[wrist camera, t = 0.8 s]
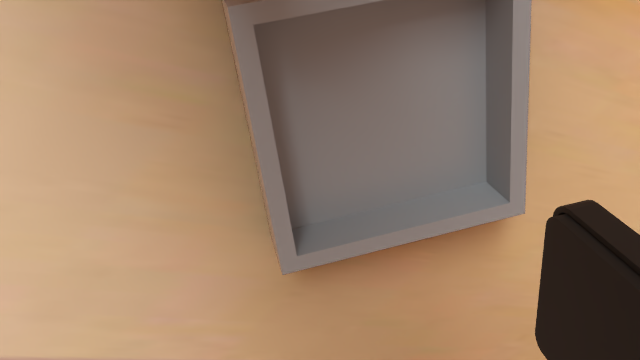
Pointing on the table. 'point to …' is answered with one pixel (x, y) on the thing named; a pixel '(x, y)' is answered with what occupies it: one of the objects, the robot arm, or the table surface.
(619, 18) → the table surface
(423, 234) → the bin
